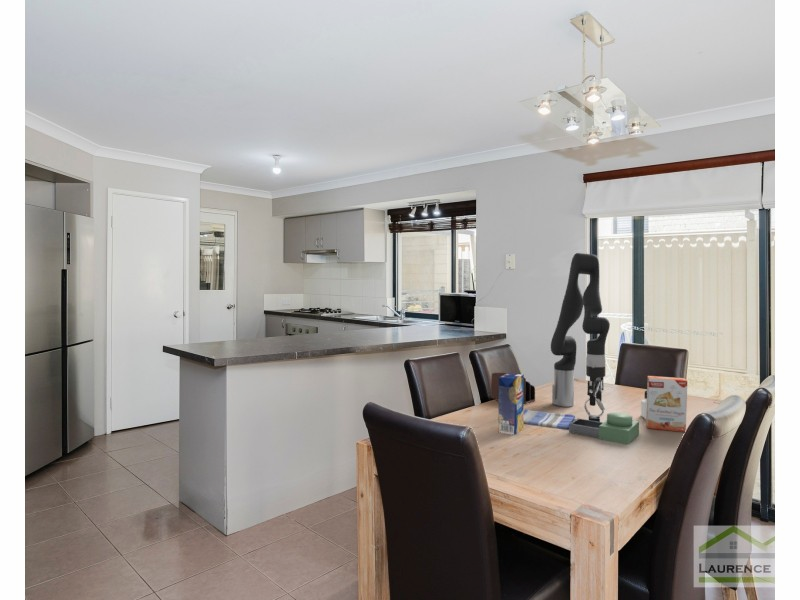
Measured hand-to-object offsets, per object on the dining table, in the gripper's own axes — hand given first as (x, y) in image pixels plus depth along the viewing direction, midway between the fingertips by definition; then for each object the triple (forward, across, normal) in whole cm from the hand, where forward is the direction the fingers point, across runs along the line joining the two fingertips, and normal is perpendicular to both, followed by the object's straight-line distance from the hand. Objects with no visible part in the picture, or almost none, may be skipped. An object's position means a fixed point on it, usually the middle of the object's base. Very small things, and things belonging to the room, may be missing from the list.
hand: (595, 403), depth 212 cm
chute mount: (+9, +13, +1) cm, 16 cm away
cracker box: (+9, -11, +24) cm, 28 cm away
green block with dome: (+9, +11, +12) cm, 19 cm away
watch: (+9, 0, 0) cm, 9 cm away
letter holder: (+8, -20, -46) cm, 51 cm away
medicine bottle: (+9, -25, +17) cm, 31 cm away
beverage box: (+9, +29, -25) cm, 39 cm away
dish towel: (+9, +7, -19) cm, 23 cm away
